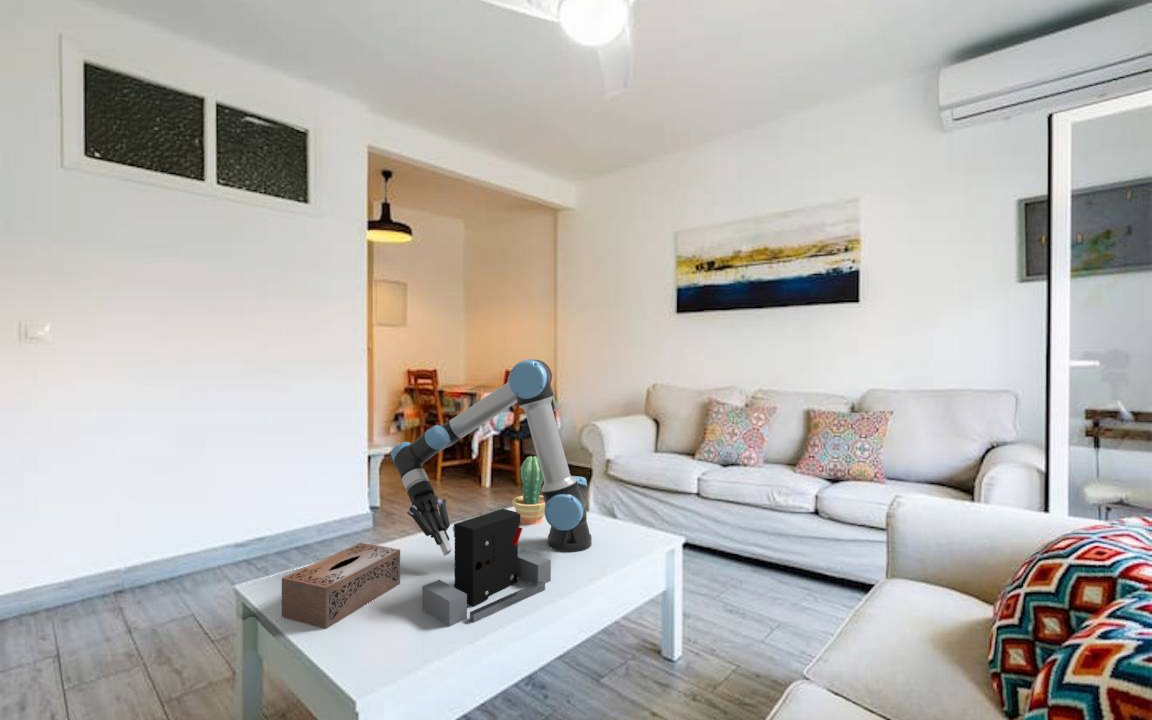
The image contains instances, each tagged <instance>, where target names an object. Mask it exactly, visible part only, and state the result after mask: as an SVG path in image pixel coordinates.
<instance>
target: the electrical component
mask: <svg viewBox="0 0 1152 720" xmlns="http://www.w3.org/2000/svg"><path fill="white" fill-rule="evenodd" d="M520 526H521V522H520V514H518V512H516V511H514V510H511V509H506V508H501V509H500V508H499V509H496V510H494V511H491V512H487V513H484V514H481V515H479V516H475V517H472V518H469V519H466V520H462V521H458V522H457V523H453V526H452V531H453V537H454V584H453V585H452V587H454V588H456V589H458V590H460V591H462V592H464V593H466V594H467V604H468V605H467V606H469V605H470V606H469V607H471V606H472V608H474V607H476V606H478V605H480V604H481V603H484V602H486V601H487V600H488V599H489V597H491V596H493V595H495V594H497V593H499V592H501V591H503V590H505V589H507V588H509V587H511V586H514V585H516V584H517V583H518V582H519V581H518V579H519V578H518V551H519V544H518V543H519V540H520V536H521V534H522V531H523V530H524V529H523V528H522V527H520Z"/></svg>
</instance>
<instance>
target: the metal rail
mask: <svg viewBox="0 0 1152 720" xmlns="http://www.w3.org/2000/svg"><path fill="white" fill-rule="evenodd" d="M545 590H546V583H545V582H543V581H539V582H537V583H535V584H531V585H529V586H526V587H524V588H522V589H518V590H517V591H514V592H512V593H509V594H508V595H505V596H503V597H501V598H499V599H497V600H496V599H495V600H493V601H492V602H490V603H489V602H488V603H487V604H485V605H483V606H481V607H477V608H476V609H474V610H472V611H469V621H470V622H472V623H476V622H478V621H480V620H482V618H483V619H485V618H487V617H489V616H491V615H493V614H495V613H497V612H500V611H502V610H503V609H506V608H509V607H511V606H512V605H514V604H515V605H516V604H517V603H519V602H521V601H524V600H526V599H527V598H530V597H532V596H535V595H536V594H539V593H541V592H543V591H545ZM484 617H485V618H484Z"/></svg>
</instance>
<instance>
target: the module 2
mask: <svg viewBox="0 0 1152 720" xmlns="http://www.w3.org/2000/svg"><path fill="white" fill-rule="evenodd" d="M551 566H552V560H551V559H549V558H547V557H544V556H541V555H539V554H536V553H533V552H531V551H528V550H526V549H523V548H522V549H520V550H518V579H520V580H522V581H524V582H527V583H529V584H531V585H533V584H535V583H537V582H539V581H543V582H545V584H547V583H549V582H551V581H552V580H551V579H552V575H551V574H552V569H551V568H552V567H551Z"/></svg>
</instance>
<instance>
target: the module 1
mask: <svg viewBox="0 0 1152 720" xmlns="http://www.w3.org/2000/svg"><path fill="white" fill-rule="evenodd" d="M421 591H422V593H421V595H422V598H421V599H422V608H421V609H422V610H423V611H424V612H426V613H427V614H429V615H430V616H432V617H433V618H435V619H437V620H439V621H441V623H444V624H445V625H447V626H448V627H452V626H453V625H456V624H458V623H461V622H463V621H466V620H467V619H468V605H467V594H466V593H464V592H462V591H460V590H458V589H456V588H454V587H453V585H451V584H449V583H447V582H445V581H443V580H441V579H438V580H434V581H432V582H429V583H427V584H424V585H422V589H421Z"/></svg>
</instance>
